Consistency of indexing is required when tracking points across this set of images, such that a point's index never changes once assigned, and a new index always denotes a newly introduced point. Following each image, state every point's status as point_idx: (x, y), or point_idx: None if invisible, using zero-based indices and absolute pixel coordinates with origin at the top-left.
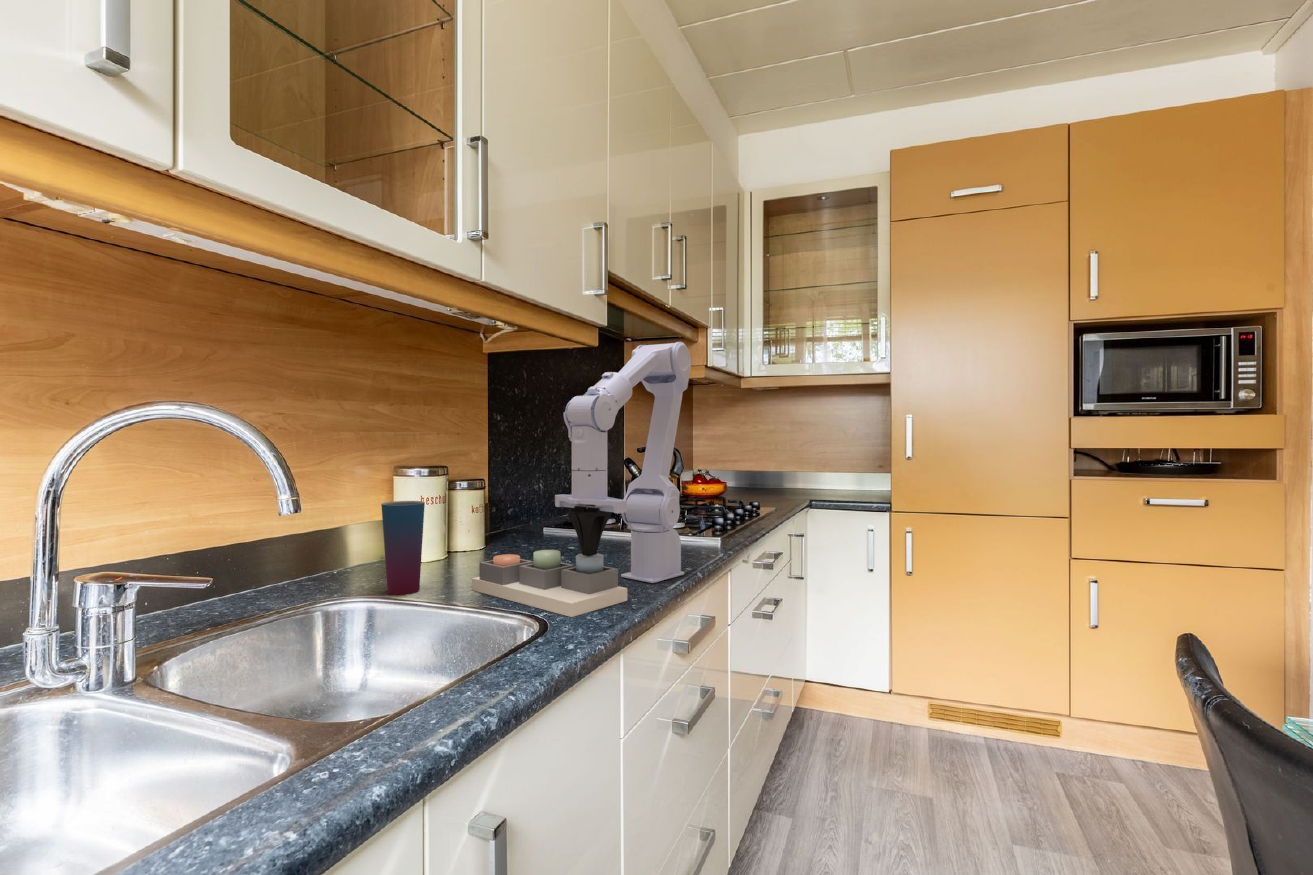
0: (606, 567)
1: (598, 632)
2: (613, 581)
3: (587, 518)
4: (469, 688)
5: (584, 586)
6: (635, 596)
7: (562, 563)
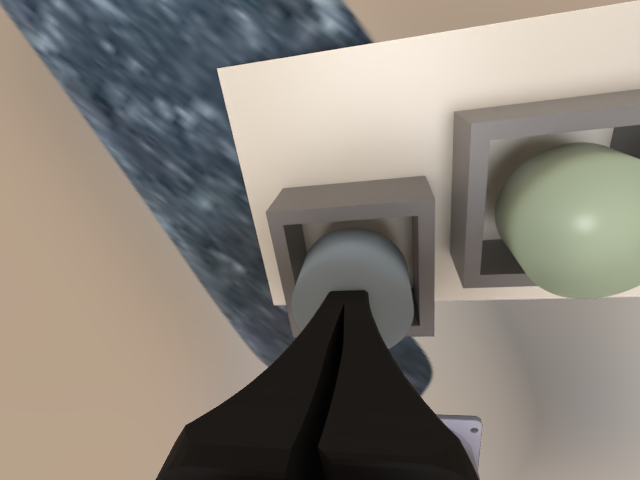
0: None
1: (64, 36)
2: None
3: (191, 426)
4: None
5: (299, 193)
6: None
7: None
